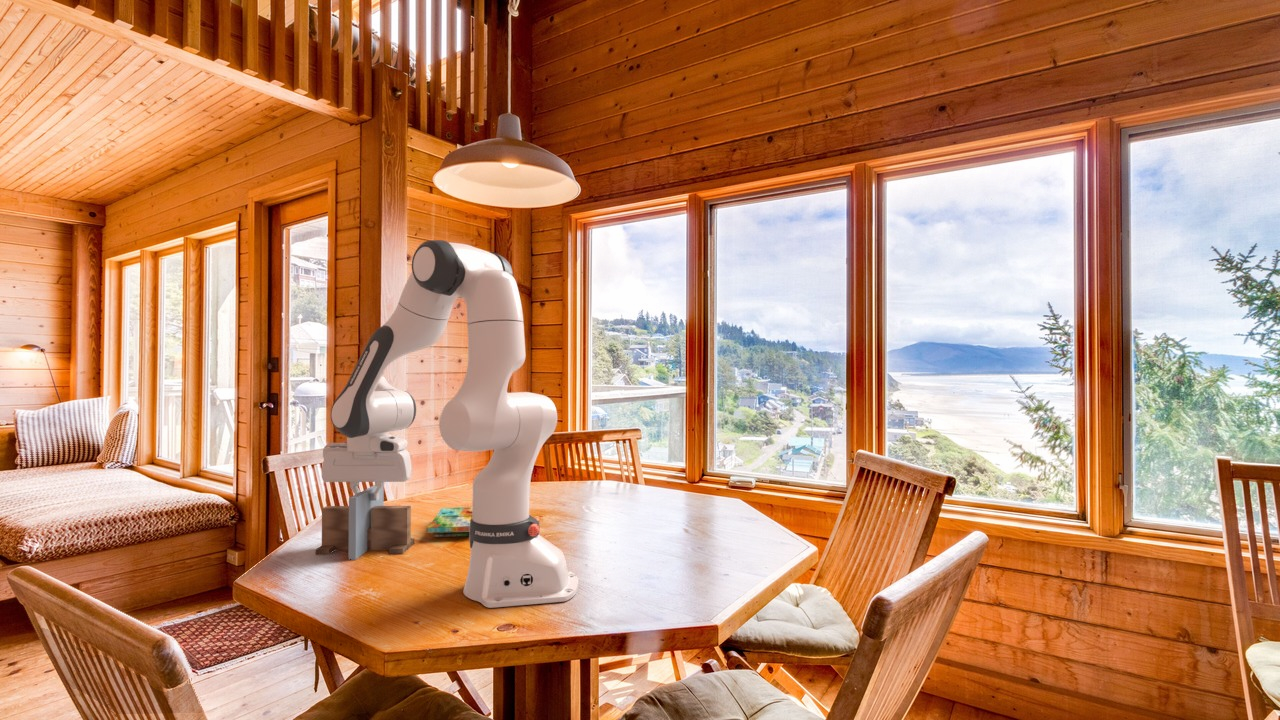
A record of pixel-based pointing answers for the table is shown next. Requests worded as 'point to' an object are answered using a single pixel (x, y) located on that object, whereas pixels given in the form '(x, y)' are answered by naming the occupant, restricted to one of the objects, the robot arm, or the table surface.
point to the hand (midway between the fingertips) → (367, 500)
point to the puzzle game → (451, 522)
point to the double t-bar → (384, 533)
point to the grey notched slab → (361, 520)
